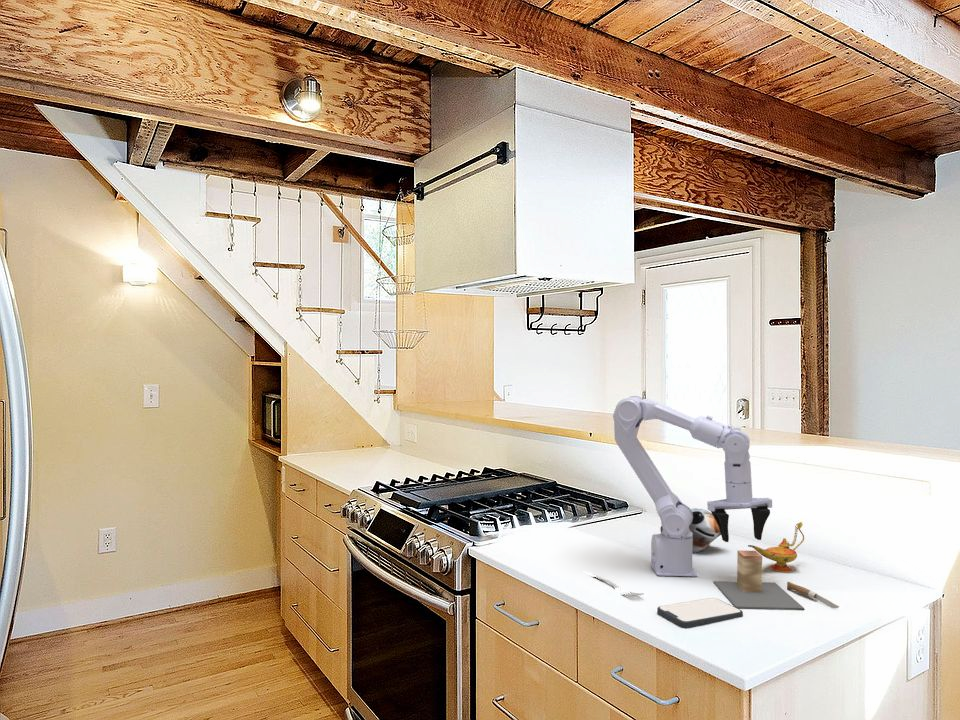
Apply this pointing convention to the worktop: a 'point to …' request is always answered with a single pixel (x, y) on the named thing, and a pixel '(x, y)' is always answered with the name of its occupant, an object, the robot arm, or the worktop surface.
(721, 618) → the phone case
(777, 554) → the magic lamp
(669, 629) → the worktop surface
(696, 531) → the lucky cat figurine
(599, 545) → the worktop surface
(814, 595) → the folding knife
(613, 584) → the fork
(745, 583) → the maple block
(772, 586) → the rubber mat
